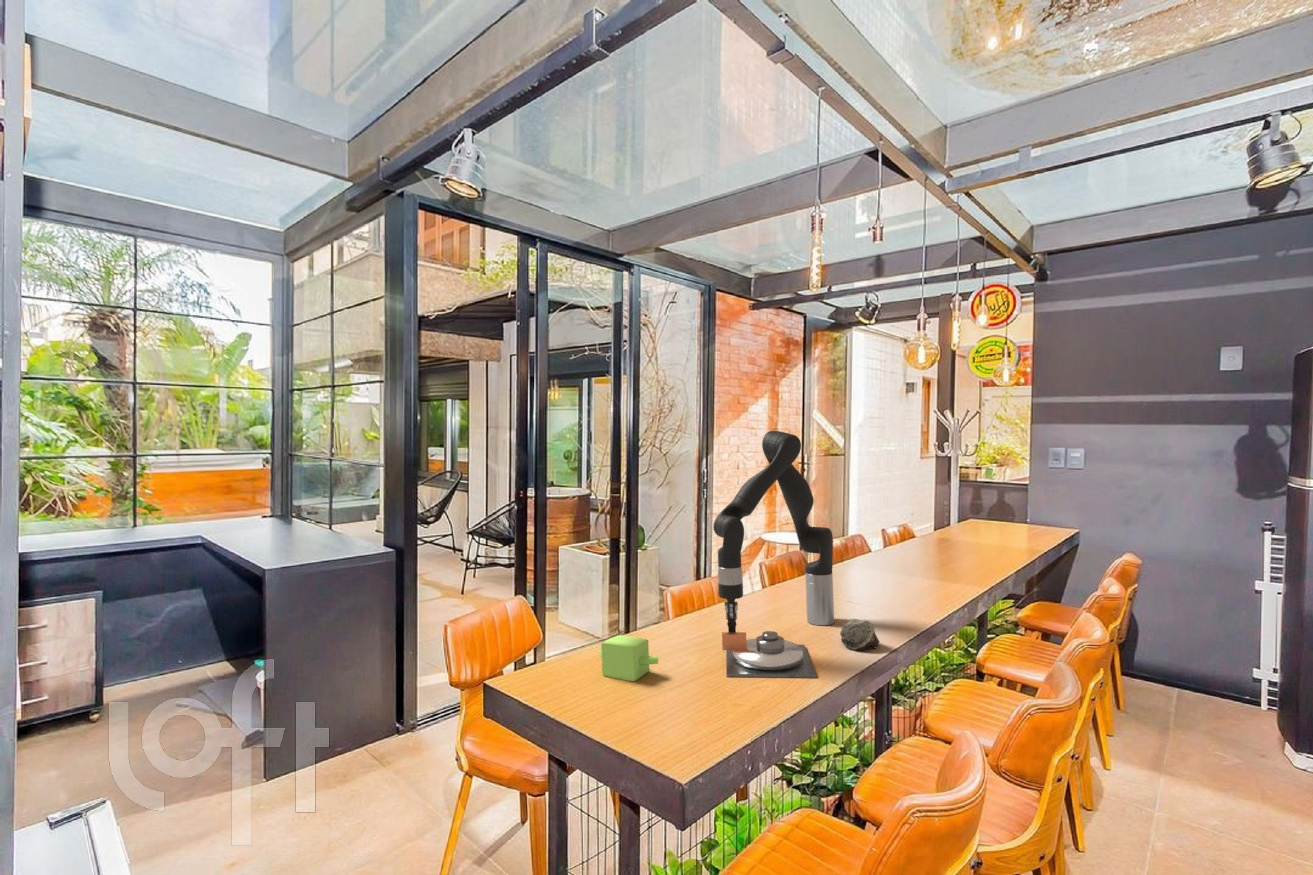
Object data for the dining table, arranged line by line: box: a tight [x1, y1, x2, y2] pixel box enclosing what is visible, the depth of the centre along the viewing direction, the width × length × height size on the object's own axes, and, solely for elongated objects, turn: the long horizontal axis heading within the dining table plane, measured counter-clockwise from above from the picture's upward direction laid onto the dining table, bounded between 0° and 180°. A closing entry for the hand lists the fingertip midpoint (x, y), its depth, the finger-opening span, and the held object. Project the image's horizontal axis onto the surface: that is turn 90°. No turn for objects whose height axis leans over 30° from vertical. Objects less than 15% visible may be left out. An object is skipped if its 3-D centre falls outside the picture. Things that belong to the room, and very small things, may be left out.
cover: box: [755, 630, 785, 654], centre depth 171 cm, size 8×8×5 cm
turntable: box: [721, 631, 803, 670], centre depth 171 cm, size 20×23×7 cm
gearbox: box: [599, 634, 659, 682], centre depth 166 cm, size 18×10×10 cm, turn 59°
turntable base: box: [725, 644, 817, 679], centre depth 171 cm, size 24×24×1 cm
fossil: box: [839, 618, 880, 652], centre depth 181 cm, size 11×9×10 cm
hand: (732, 637), depth 179 cm, fingers closed
